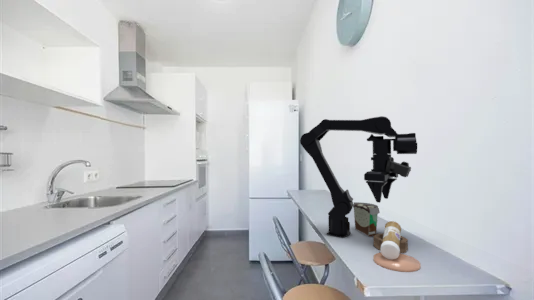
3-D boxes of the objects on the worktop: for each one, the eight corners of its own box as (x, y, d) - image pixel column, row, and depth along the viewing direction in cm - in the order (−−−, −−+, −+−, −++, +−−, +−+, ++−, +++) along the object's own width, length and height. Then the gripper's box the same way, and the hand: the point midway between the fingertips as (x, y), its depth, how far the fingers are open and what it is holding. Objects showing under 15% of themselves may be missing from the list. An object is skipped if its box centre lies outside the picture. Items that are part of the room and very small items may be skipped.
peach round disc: (367, 264, 66) (367, 261, 66) (380, 251, 75) (380, 249, 75) (416, 277, 59) (416, 273, 60) (423, 261, 68) (423, 258, 68)
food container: (387, 237, 88) (387, 208, 89) (371, 238, 87) (370, 208, 88) (367, 227, 100) (367, 201, 101) (353, 228, 99) (352, 202, 100)
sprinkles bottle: (404, 227, 77) (403, 253, 65) (394, 237, 79) (391, 263, 67) (391, 217, 78) (387, 241, 66) (381, 226, 80) (376, 251, 68)
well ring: (370, 248, 78) (370, 238, 78) (379, 240, 85) (379, 231, 85) (403, 255, 72) (403, 244, 72) (409, 246, 79) (409, 236, 79)
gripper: (402, 154, 74) (403, 207, 74) (413, 154, 89) (414, 199, 89) (363, 154, 81) (363, 203, 81) (380, 154, 96) (380, 195, 96)
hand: (382, 200), depth 86 cm, fingers open, 9 cm apart
